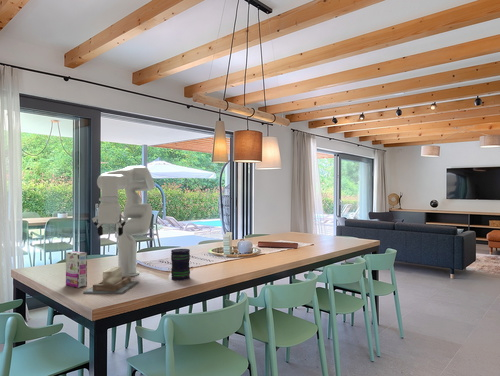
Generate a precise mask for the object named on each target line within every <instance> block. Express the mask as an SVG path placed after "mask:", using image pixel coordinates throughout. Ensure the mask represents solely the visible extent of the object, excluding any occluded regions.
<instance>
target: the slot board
mask: <svg viewBox="0 0 500 376" xmlns="http://www.w3.org/2000/svg"><path fill="white" fill-rule="evenodd" d="M139 283H140V281H139V280H132V276H130V277H122V280H121V281H119V282H118V283H116V284H103V279H101V280H100V281H98V282H96V283H94V284H92V287H89V288H87V289H86V290H84V291H83V294H85V295H87V294H88V295H91V294H93V295H96V294H97V295H124V293H126V292H127V291H129V290H130V289H132V288H134V287H135V286H136V285H137V284H139Z"/></svg>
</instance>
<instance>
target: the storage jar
mask: <svg viewBox="0 0 500 376" xmlns="http://www.w3.org/2000/svg"><path fill="white" fill-rule="evenodd" d="M190 250H191V249H190V248H189V249H188V248H175V249H171V250H170V251H171V253H170V254H171V255H170V257H171V259H170V260H171V269H170V270H171V271H170V274H171V280H172V281H178V282H179V281H187V280H190V278H191V276H190V275H191V268H190V267H191V266H190V260H191V258H190V257H191V255H190V254H191V252H190Z"/></svg>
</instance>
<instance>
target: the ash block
mask: <svg viewBox="0 0 500 376" xmlns="http://www.w3.org/2000/svg"><path fill="white" fill-rule="evenodd" d="M102 280H103V284H116V283H118V282H119V281H121V280H122V267H118V266H112V267H109V268H108V269H105V270H103V271H102Z"/></svg>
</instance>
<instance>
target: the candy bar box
mask: <svg viewBox="0 0 500 376" xmlns="http://www.w3.org/2000/svg"><path fill="white" fill-rule="evenodd" d="M65 286H68V287H72V288H77V289H80V288H85V287H87V286H88V252H85V251H84V252H83V251H73V250H72V251H67V252H65Z"/></svg>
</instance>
